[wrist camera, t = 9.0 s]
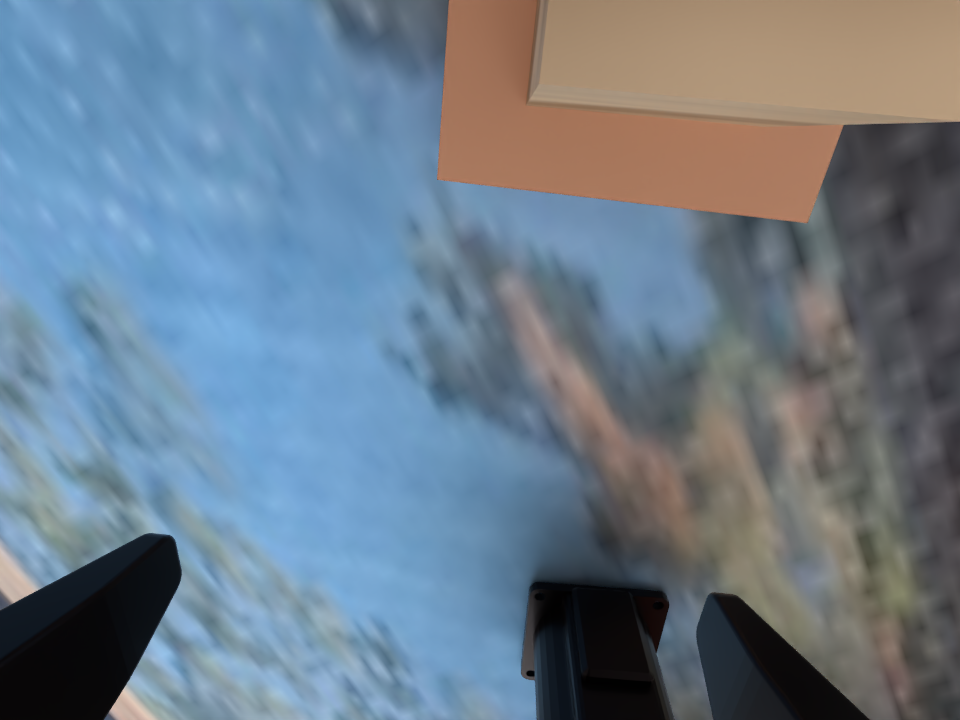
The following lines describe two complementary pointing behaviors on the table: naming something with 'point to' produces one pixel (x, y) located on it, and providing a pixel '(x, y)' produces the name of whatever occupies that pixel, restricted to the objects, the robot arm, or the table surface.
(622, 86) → the maple cube
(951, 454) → the table surface
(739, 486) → the table surface
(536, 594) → the robot arm
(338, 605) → the table surface
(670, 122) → the terracotta base block
